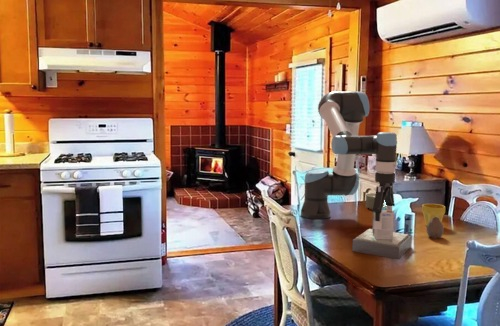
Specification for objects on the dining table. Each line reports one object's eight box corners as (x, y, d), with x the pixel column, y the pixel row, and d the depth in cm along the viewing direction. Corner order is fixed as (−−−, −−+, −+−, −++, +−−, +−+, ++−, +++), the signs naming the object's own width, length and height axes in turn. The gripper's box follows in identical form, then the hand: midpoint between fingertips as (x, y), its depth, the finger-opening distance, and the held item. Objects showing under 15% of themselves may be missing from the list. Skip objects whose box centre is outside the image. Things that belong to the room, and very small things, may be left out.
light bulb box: (371, 232, 201) (373, 206, 199) (388, 232, 200) (390, 206, 199) (375, 239, 190) (376, 212, 189) (393, 240, 190) (394, 212, 188)
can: (388, 206, 276) (389, 194, 275) (386, 210, 265) (386, 198, 264) (367, 204, 280) (367, 192, 280) (363, 208, 269) (364, 196, 269)
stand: (352, 251, 193) (352, 237, 192) (367, 240, 208) (367, 227, 208) (398, 259, 184) (399, 245, 183) (410, 247, 199) (411, 234, 198)
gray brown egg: (442, 236, 216) (444, 216, 215) (443, 240, 210) (444, 220, 208) (426, 234, 218) (427, 215, 217) (426, 238, 212) (427, 218, 211)
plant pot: (417, 223, 238) (418, 203, 237) (438, 223, 239) (439, 203, 238) (426, 228, 228) (428, 208, 227) (448, 228, 229) (449, 207, 227)
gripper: (385, 177, 180) (382, 233, 182) (403, 169, 201) (401, 220, 203) (365, 175, 183) (363, 230, 186) (385, 167, 204) (383, 217, 207)
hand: (383, 225), depth 195 cm, fingers open, 13 cm apart
